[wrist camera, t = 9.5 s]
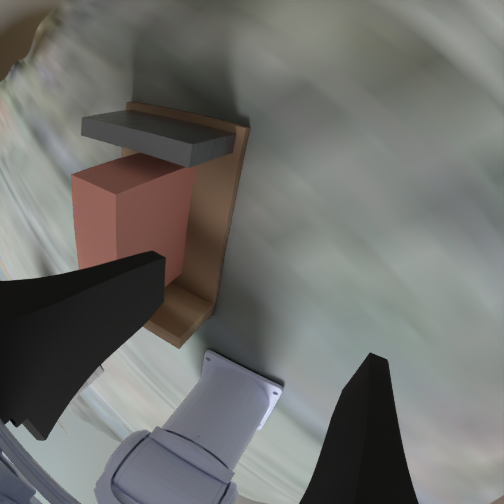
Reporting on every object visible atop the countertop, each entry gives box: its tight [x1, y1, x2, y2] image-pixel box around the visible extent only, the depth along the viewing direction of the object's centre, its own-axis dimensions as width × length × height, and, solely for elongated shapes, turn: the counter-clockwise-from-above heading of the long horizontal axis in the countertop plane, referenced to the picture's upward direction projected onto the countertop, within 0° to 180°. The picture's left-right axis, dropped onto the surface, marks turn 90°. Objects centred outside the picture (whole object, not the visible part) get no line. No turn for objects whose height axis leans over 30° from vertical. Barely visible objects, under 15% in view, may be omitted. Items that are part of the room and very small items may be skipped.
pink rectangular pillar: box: [71, 153, 195, 287], centre depth 20 cm, size 9×4×7 cm, turn 167°
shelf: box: [122, 102, 250, 349], centre depth 21 cm, size 15×10×5 cm, turn 168°
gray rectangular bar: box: [81, 110, 237, 168], centre depth 17 cm, size 1×9×4 cm, turn 78°
